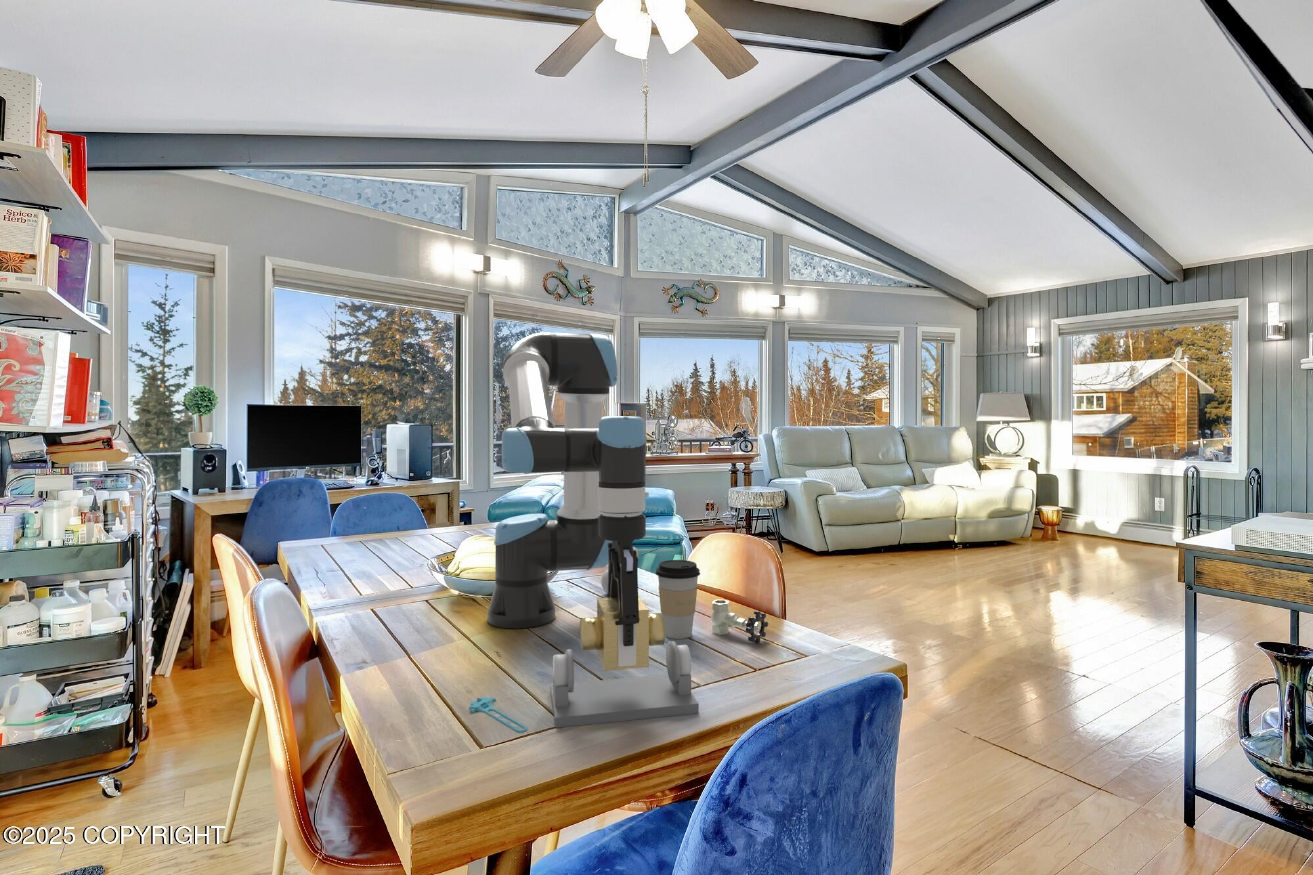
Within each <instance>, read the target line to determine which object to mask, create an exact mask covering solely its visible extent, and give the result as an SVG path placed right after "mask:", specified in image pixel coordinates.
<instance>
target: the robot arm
mask: <svg viewBox="0 0 1313 875" xmlns="http://www.w3.org/2000/svg"><path fill="white" fill-rule="evenodd" d="M617 363H618V362H617V355H616V351H615V348H614V344H613V342H612V340H611V338H609V337H608V336H607V335H604V334H596V333H590V332H589V333H579V332H578V333H577V332H575V333H574V332H573V333H571V332H549V331H548V332H546V331H545V332H536V333H533V334H530V335H527V336H525V337H524V338H522V339H520V340H519V341H518V342H516V343H515V344H514V345H513V346H512V347H511V348H510V349H509V351H508V352H507V353H506V355H505V357H504V360H503V363H502V376H503V380H504V383H505V384H506V385H507V387H508V390H509V403H510V404H509V406H510V420H511V428H506V429H504V430H503V431H502V433H501V463H502V464H501V465H502V469H503V470H504V471H505V472H507V473H515V474H516V473H518V474H526V475H527V474H537V473H540V474H541V473H545V474H546V473H563V503H562V506H561V507H560V508H558V509H557V511H556V519H549V518H548V516H547V514H546V513H527V514H521V515H517V516H511V517H508V518H505V519H503V520H501V521H500V522H498V523H497V525H496V527H495V536H494V543H493V545H494V546H495V553H494V554H495V557H494V558H495V565H494V566H495V568H494V569H495V570H494V571H495V572H494V574H495V579H494V580H495V586H494V589H493V592H492V596H491V600H490V602H489V605H488V609H487V622H488V624H489V625H492V626H494V627H496V628H497V627H498V628H503V629H528V628H534V627H539V626H543V625H545V624H548V623H551V622H552V621H553V620H555V618H556V604H555V602H554V598H553V596H552V594H551V593H552V592H551V591H550V588H549V584H548V572H561V571H577V570H581V571H582V570H586V571H588V570H592V569H593V570H594V569H601V568H605V567H607V569H608V593H606V598H612V597H618V602H619V618H620V619H619V621H615V625H618V666H619V667H620V666H632V665H636V623H639V621H640V618H639V603H638V596H639V580H638V578H639V575H638V572H639V571H638V568H639V565H638V564H639V558H638V557H639V556H638V557H637V555H636V551H633V547H634V545H633V542H634V541H639V540H642V539H644V538H645V537H646V534H647V533H646V532H647V530H646V529H647V528H646V525H647V522H646V521H647V520H646V515H645V514H644V513H643V512H644V511H645V510H646V498H648V497H649V496H650V493H649V491H646V474H647V473H646V468H647V467H646V462H647V461H646V456H647V454H646V452H647V451H646V449H647V447H646V445H647V440H648V437H647V436H648V435H647V433H646V421H645V420H644V418H643V417H641V416H636V415H635V416H625V415H624V416H618V415H617V416H603V403H604V401H605V400H606V398H608V397H609V396H610V387H611V388H613V387H615V386H616V385H617V383H618V364H617ZM548 386H557V395H558V396H560V398H561V399H562V400H563V402H564V414H563V415H564V419H563V420H564V423H563V424H564V427H556V426H555V421H554V420H555V419H554V414H553V410H552V404H551V398H550V394H549V388H548ZM627 615H629V616H627Z"/></svg>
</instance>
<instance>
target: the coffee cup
mask: <svg viewBox="0 0 1313 875" xmlns="http://www.w3.org/2000/svg"><path fill="white" fill-rule="evenodd" d="M697 566H698V565H697V563H696V562H695V561H691V560H687V559H686V560H685V559H669V560H663V561H661V562H659V563H658V567H657V568H655V569H656V570H655V573H654V574H655V575H656V576H657V577H658V596H659V604H660V613H662V615H663V617H664V622H665V638H669V639H672V640H682V639H683V640H684V639H688V638H691V637H692V635H693V628H694V618H695V613H696V605H697V604H696V603H697V596H698V578H699V577H700V575H701V572H700V571H701V570H700V568H699V567H697Z"/></svg>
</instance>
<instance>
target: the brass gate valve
mask: <svg viewBox="0 0 1313 875" xmlns="http://www.w3.org/2000/svg"><path fill="white" fill-rule="evenodd" d="M638 603H639V618H640V621H639V623H636V665H632V666H620V667H619V666H618V625H615V621H619V619H620V618H619V602H618V597H612V598H608V597H601V598H600V597H599V598H598V597H597V598H596V614H597V615H596V616H594V617H583V618H582V617H581V618H580V620H579V641H580V642H579V643H580V650H581V652H593V651H597V652H596V653H597V656H598V658H599V661H600V664H601V667H602V669H603V671H604V672H608V671H619V670H630V669H632V670H633V669H642V668H649V667H650V647H653V646H664V645H665V642H666V636H665V622H664V617H663V615H662V613H661V612H655V613H650V608H648V606H647V605H646V604H645V602H644V601H643V599H642V598H641V597H640V595H638ZM627 616H629V615H627Z"/></svg>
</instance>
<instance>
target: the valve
mask: <svg viewBox="0 0 1313 875" xmlns="http://www.w3.org/2000/svg"><path fill="white" fill-rule="evenodd" d="M753 615H755V616H754V617H753V616H748V617H747V618H748V619H745V618H742V617H739V615H738V614H737V613H734V612H730V601H729V600H727V599H726V600H725V599H715V600H713V601H712V611H711V614H710V621H711V623H712V630H711V631H712V634H715V635H719V636H721V635H729V631H730V628H732V629H735V628H736V627H740V628H742V629H745V632H746V633H747V634H750V636H748V637H747V640H748V642H750V643H751V642H752V643H755V644H760V643H761V638H765V637H766V636H767V633H766V632H767V631H765V628H767V627H769V622H768V621H766V620H765V619H766V618H767V614H766V613H765V612H761V611H759V610H754V612H753ZM759 622H760V623H759ZM755 632H758V633H755Z"/></svg>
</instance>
